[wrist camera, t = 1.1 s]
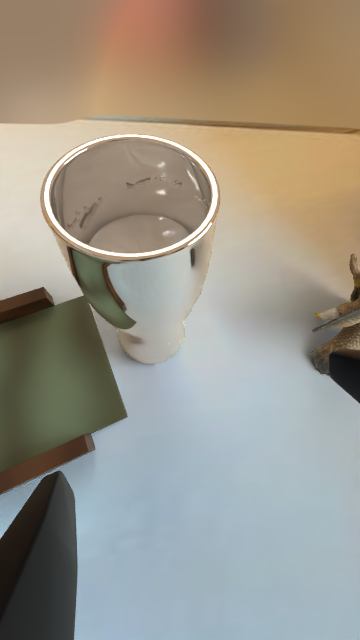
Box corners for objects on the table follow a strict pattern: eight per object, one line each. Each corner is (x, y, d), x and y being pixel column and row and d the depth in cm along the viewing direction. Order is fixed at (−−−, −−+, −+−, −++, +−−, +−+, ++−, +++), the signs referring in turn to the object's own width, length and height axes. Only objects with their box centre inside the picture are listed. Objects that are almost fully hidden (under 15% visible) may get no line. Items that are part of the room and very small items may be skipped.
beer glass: (104, 361, 21) (-4, 244, 8) (125, 293, 24) (73, 118, 10) (182, 375, 21) (215, 283, 8) (194, 305, 24) (233, 145, 10)
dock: (82, 286, 24) (76, 275, 23) (133, 431, 19) (129, 431, 18) (-106, 348, 21) (-129, 341, 19) (-104, 544, 16) (-135, 557, 14)
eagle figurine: (307, 268, 25) (283, 329, 20) (397, 237, 20) (392, 313, 15) (339, 321, 28) (323, 387, 23) (427, 307, 22) (431, 391, 17)
